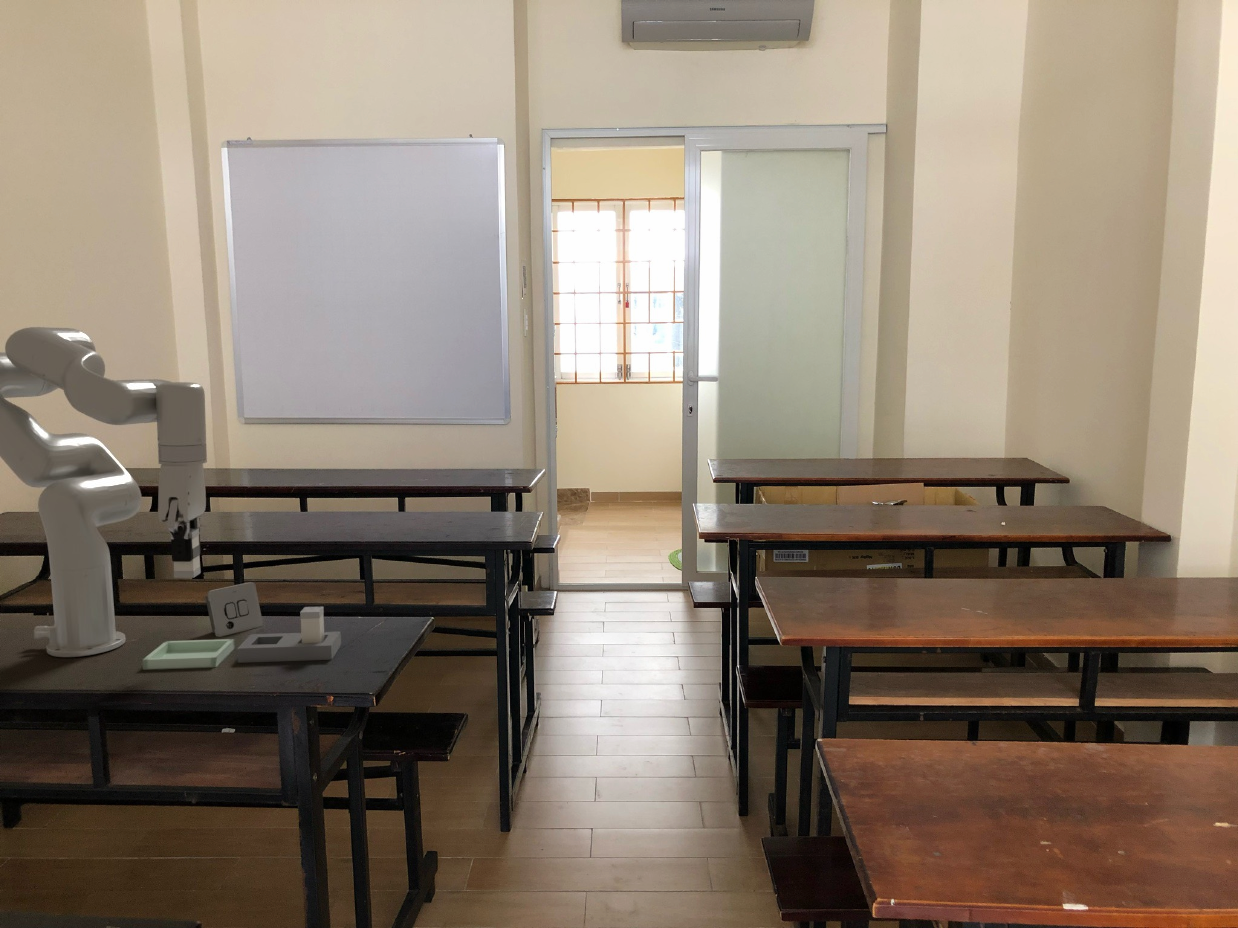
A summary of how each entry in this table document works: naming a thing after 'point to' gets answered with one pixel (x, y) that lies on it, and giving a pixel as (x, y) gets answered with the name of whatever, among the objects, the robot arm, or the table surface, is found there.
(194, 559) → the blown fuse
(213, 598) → the electrical switch
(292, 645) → the block
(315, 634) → the block
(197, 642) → the parts tray
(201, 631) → the table surface
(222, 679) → the table surface
